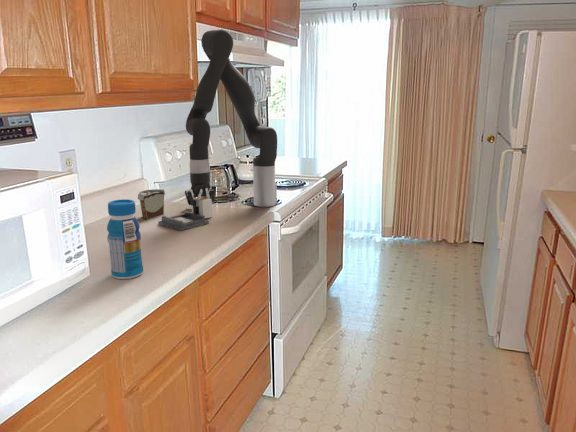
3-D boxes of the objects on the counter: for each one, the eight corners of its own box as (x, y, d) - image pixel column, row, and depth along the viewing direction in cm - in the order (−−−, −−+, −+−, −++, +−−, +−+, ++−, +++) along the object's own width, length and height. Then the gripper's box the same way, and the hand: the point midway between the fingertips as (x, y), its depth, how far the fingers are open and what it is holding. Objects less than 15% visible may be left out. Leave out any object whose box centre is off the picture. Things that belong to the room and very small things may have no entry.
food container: (154, 212, 197) (153, 187, 194) (166, 213, 194) (164, 189, 192) (132, 219, 186) (130, 193, 184) (144, 221, 184) (142, 195, 181)
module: (201, 213, 193) (200, 196, 192) (212, 216, 189) (211, 198, 187) (191, 216, 190) (190, 197, 188) (203, 219, 186) (202, 200, 184)
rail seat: (187, 217, 189) (186, 210, 188) (208, 223, 180) (208, 215, 179) (158, 224, 179) (157, 216, 178) (179, 230, 171) (179, 222, 170)
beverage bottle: (106, 280, 126) (99, 205, 121) (116, 268, 135) (109, 198, 130) (139, 280, 127) (133, 205, 122) (147, 268, 135) (141, 198, 130)
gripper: (208, 167, 193) (210, 209, 197) (178, 172, 182) (181, 216, 187) (220, 169, 188) (222, 212, 192) (190, 174, 177) (193, 219, 182)
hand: (201, 213), depth 189 cm, fingers closed on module, 4 cm apart
